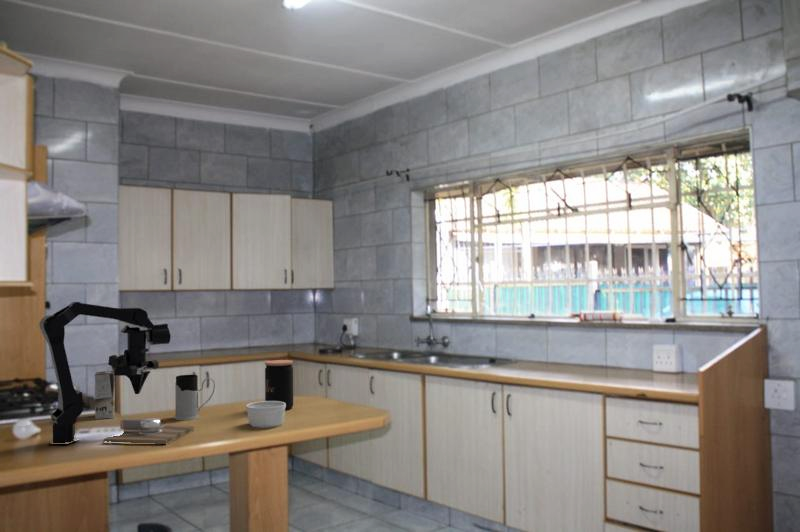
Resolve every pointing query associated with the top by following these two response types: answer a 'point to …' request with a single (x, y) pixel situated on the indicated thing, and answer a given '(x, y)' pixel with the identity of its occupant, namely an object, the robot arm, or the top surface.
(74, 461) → the top surface
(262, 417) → the ramekin
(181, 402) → the grey black mug
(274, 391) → the coffee jar
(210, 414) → the top surface
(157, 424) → the lock knob
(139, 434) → the lock board
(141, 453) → the top surface
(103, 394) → the coffee box
